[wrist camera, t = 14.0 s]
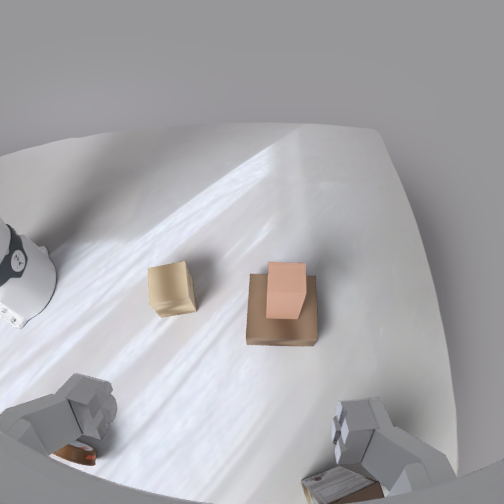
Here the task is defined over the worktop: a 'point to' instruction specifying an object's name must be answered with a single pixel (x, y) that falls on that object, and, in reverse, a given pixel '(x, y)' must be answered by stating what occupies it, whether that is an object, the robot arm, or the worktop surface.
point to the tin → (77, 453)
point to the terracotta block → (285, 290)
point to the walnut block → (280, 329)
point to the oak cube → (171, 289)
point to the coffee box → (340, 487)
